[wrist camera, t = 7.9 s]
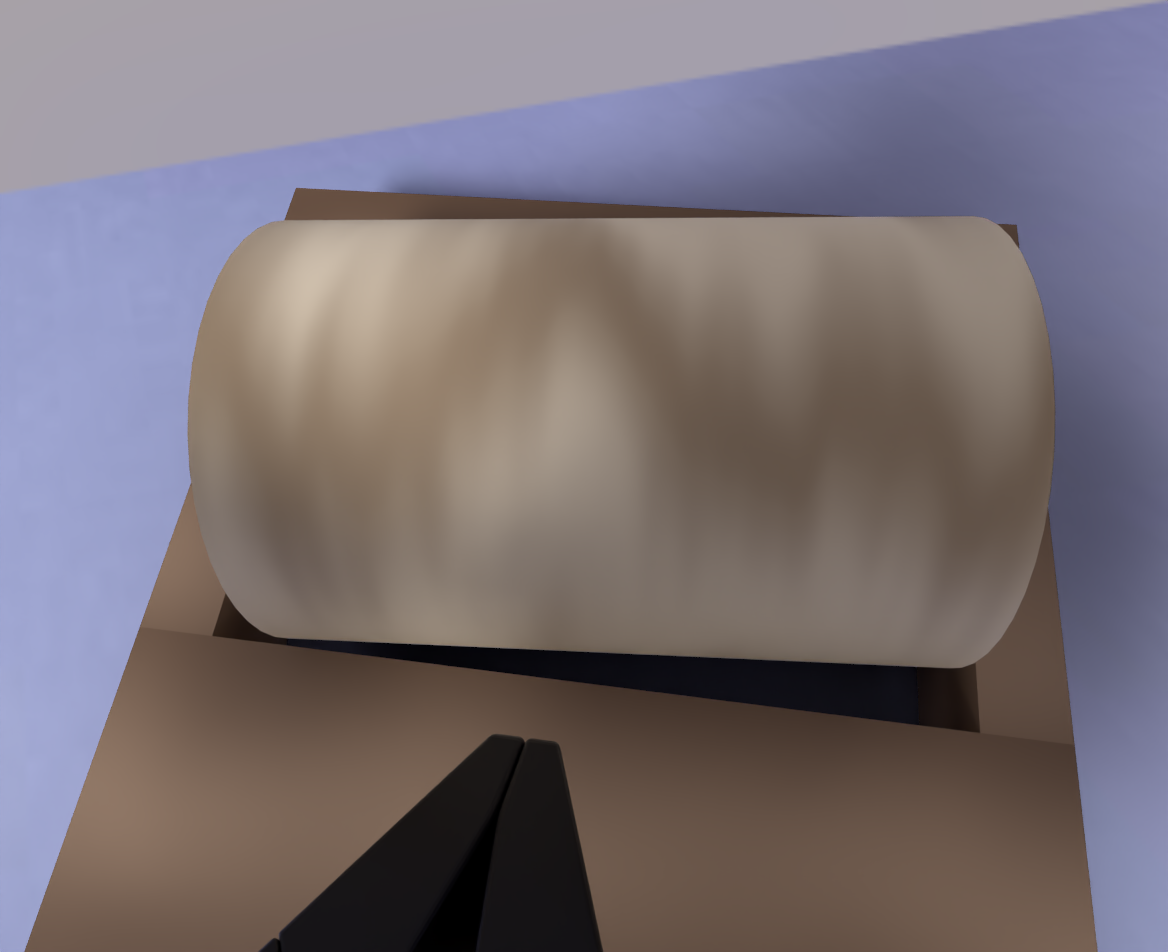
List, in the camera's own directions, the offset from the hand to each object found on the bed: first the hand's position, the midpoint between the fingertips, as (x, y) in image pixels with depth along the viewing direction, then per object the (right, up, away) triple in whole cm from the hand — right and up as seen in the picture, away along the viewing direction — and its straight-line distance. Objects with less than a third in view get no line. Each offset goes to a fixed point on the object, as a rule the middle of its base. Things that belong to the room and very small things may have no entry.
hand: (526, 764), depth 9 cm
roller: (+1, +4, +5) cm, 7 cm away
